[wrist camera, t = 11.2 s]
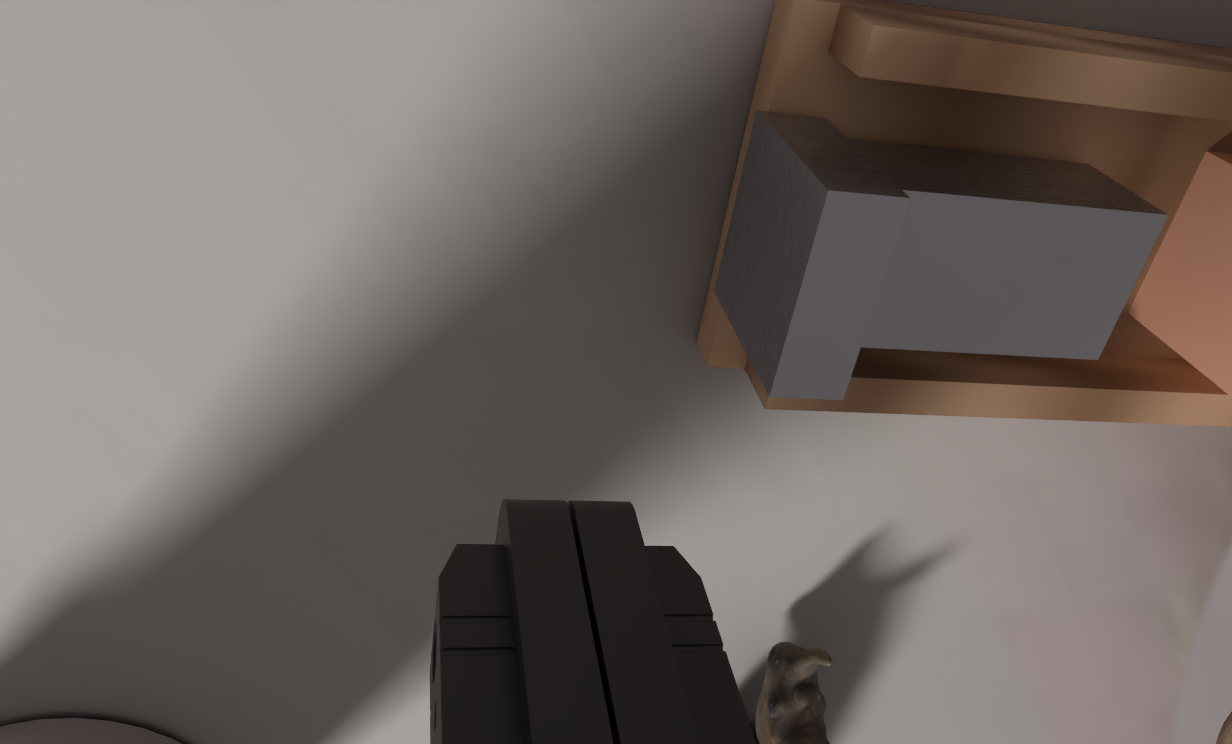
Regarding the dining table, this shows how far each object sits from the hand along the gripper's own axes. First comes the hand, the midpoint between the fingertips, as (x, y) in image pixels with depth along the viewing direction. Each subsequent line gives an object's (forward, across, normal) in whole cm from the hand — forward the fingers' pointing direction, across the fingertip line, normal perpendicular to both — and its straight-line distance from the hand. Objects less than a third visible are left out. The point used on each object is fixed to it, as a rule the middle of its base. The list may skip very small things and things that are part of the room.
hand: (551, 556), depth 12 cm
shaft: (+11, -10, 0) cm, 15 cm away
